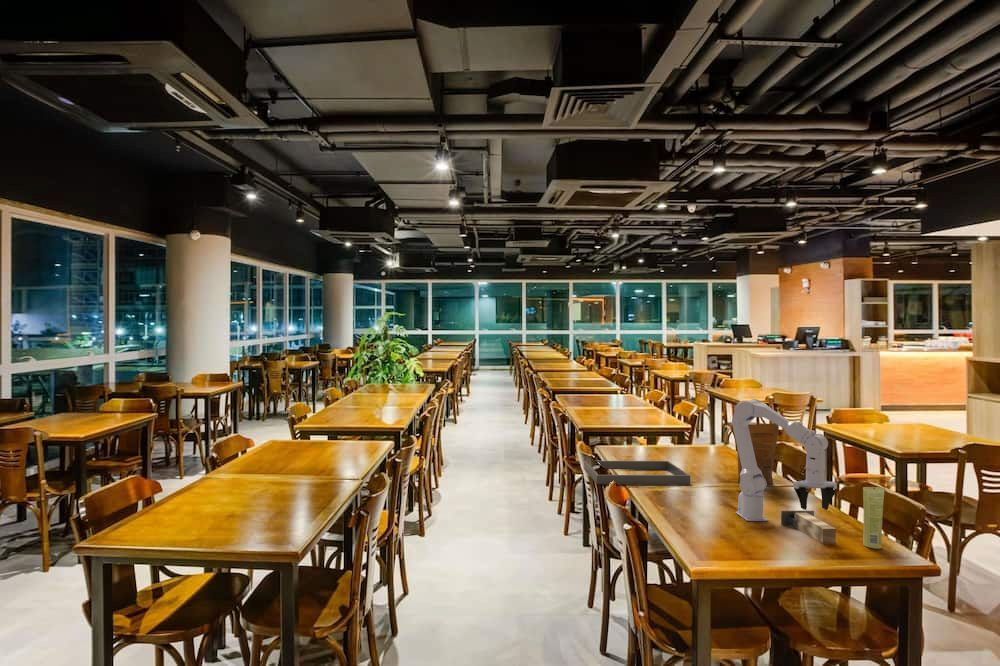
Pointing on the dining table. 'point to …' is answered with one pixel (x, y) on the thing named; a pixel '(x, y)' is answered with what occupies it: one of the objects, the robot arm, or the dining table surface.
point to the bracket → (791, 517)
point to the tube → (873, 516)
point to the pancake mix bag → (762, 448)
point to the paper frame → (677, 478)
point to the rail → (815, 528)
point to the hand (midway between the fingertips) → (814, 508)
